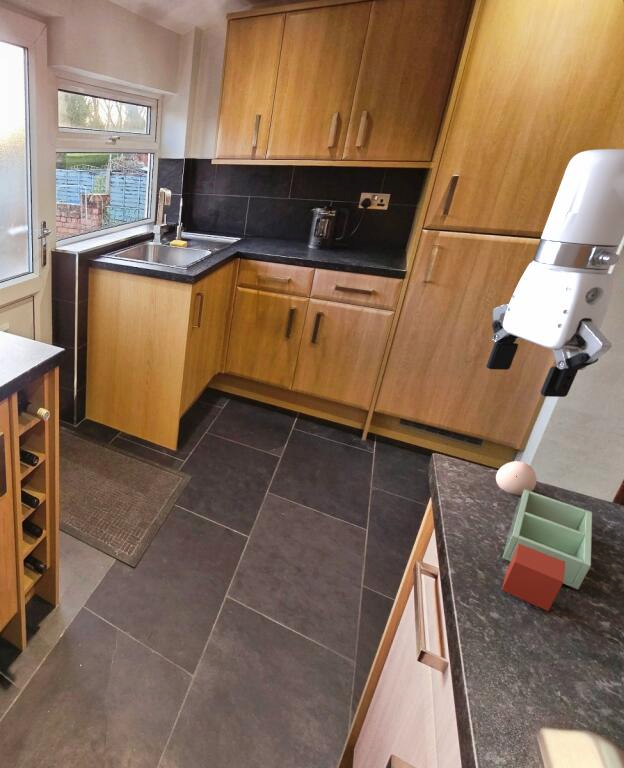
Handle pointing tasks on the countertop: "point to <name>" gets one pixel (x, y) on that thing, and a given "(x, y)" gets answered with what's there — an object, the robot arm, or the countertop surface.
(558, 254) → the robot arm
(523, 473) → the egg
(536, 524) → the tray
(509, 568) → the block
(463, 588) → the countertop surface
